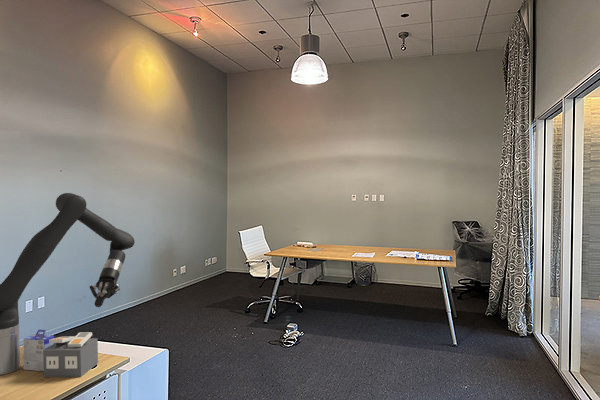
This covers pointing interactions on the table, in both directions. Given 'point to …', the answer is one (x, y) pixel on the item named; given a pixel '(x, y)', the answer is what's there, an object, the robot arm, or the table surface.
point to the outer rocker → (80, 339)
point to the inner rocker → (61, 339)
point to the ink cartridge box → (35, 350)
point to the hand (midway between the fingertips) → (97, 306)
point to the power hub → (70, 359)
